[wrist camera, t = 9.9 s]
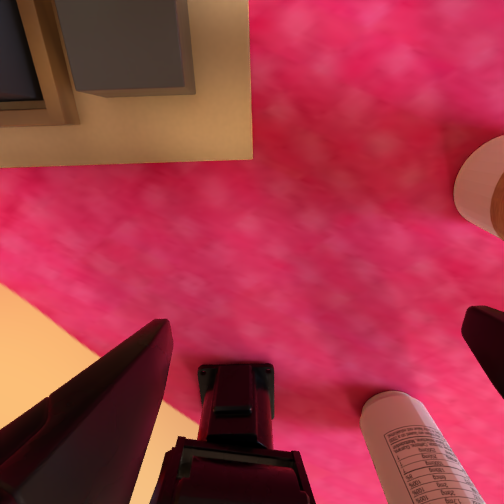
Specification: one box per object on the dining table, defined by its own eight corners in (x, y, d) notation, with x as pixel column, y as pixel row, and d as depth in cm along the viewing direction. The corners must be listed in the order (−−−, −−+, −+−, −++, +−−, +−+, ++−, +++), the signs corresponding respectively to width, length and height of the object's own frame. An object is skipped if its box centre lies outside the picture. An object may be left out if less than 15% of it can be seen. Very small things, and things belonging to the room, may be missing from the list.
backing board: (252, 157, 18) (253, 165, 14) (-45, 167, 18) (-123, 177, 15) (243, -173, 13) (239, -305, 9) (-179, -154, 13) (-362, -275, 9)
